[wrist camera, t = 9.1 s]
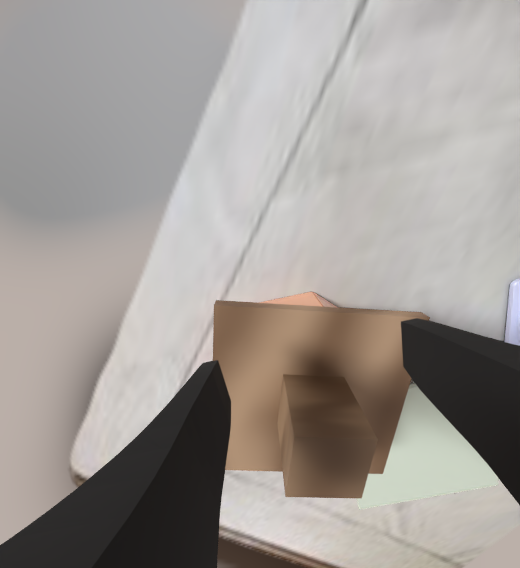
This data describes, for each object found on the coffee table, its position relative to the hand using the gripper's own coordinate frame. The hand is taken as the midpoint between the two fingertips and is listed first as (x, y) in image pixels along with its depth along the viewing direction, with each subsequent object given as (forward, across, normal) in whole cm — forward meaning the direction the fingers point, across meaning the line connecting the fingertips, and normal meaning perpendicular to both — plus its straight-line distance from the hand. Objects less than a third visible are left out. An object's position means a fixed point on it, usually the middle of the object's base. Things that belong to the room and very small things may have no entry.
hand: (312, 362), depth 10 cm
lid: (+6, 0, +7) cm, 9 cm away
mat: (+10, -11, +20) cm, 25 cm away
